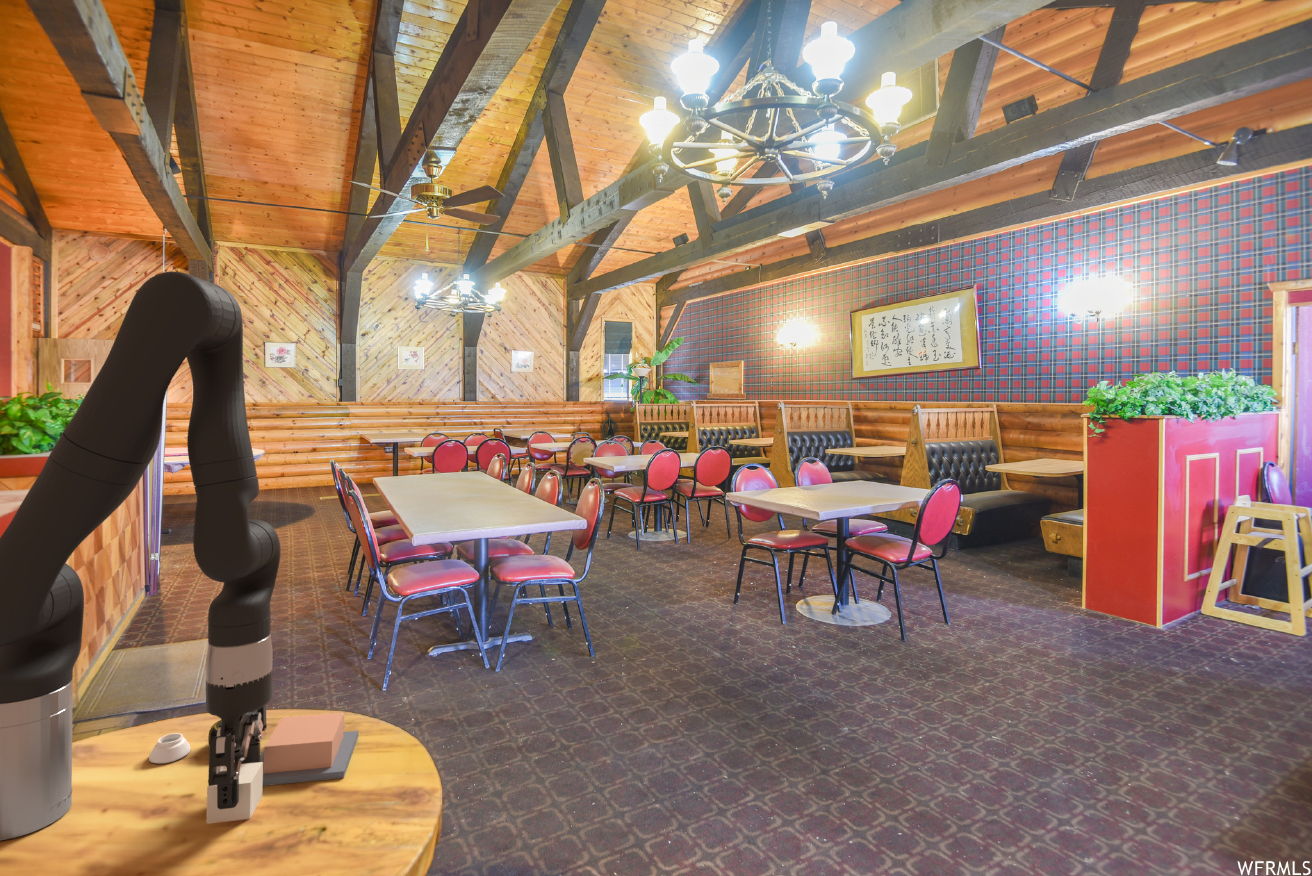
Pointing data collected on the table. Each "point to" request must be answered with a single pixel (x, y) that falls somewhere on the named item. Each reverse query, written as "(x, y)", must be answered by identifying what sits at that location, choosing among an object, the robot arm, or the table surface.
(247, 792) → the cream block
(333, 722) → the build base
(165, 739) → the white bowl
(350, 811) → the table surface
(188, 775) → the table surface
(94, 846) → the table surface
